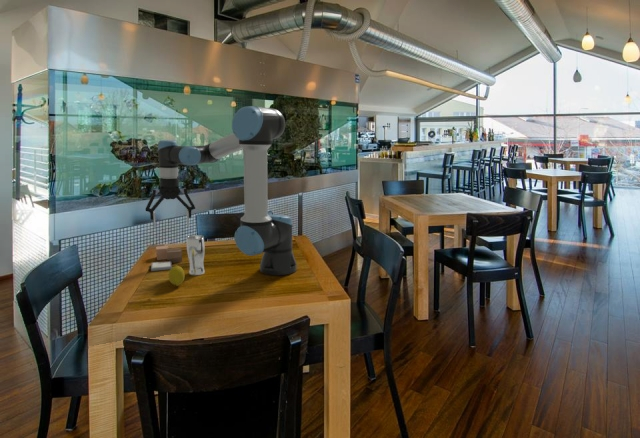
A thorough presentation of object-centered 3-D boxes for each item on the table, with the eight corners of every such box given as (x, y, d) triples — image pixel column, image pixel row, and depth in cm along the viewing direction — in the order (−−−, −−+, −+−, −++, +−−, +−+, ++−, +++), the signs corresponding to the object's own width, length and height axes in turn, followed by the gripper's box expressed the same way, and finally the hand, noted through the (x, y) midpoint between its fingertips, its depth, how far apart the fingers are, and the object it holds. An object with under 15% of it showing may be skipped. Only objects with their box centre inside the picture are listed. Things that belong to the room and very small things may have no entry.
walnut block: (182, 262, 186) (181, 251, 185) (167, 263, 184) (167, 252, 183) (181, 258, 192) (181, 247, 191) (167, 259, 190) (166, 248, 189)
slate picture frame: (171, 269, 176) (171, 266, 176) (151, 271, 173) (150, 268, 173) (171, 263, 184) (171, 260, 184) (151, 264, 181) (151, 262, 181)
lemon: (186, 283, 159) (185, 263, 158) (182, 288, 154) (181, 267, 152) (172, 283, 159) (170, 263, 158) (167, 288, 154) (165, 267, 152)
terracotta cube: (168, 259, 190) (168, 248, 189) (156, 260, 189) (156, 249, 188) (168, 256, 195) (167, 245, 194) (157, 257, 193) (156, 246, 192)
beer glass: (201, 276, 167) (199, 239, 164) (184, 275, 169) (182, 238, 166) (209, 270, 174) (207, 235, 171) (193, 269, 175) (191, 234, 172)
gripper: (198, 175, 188) (200, 222, 192) (137, 176, 179) (140, 225, 183) (200, 177, 181) (202, 226, 185) (136, 179, 172) (140, 229, 176)
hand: (171, 226), depth 184 cm, fingers open, 13 cm apart
